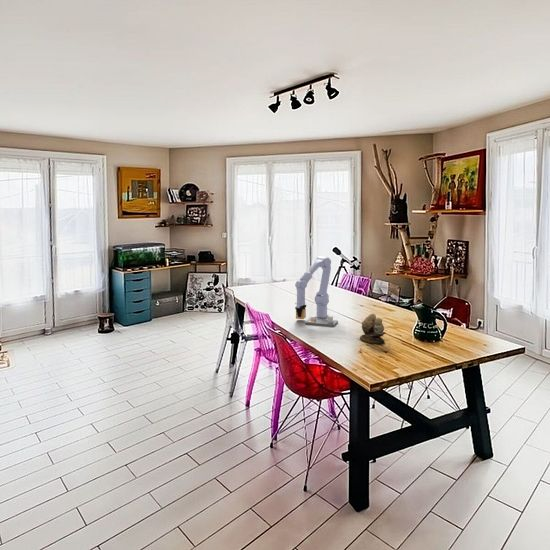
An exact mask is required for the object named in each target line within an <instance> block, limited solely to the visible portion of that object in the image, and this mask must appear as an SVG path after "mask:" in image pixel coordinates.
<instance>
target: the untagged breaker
mask: <svg viewBox="0 0 550 550" xmlns="http://www.w3.org/2000/svg"><path fill="white" fill-rule="evenodd" d="M327 320H328V323H333V320H334V315H328V316H327Z"/></svg>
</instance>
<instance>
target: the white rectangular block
mask: <svg viewBox="0 0 550 550" xmlns="http://www.w3.org/2000/svg"><path fill="white" fill-rule="evenodd" d="M310 318H311V321H316V319H317V317H316V315H311V316H310Z"/></svg>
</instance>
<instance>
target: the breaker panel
mask: <svg viewBox="0 0 550 550" xmlns="http://www.w3.org/2000/svg"><path fill="white" fill-rule="evenodd" d="M338 322H339V320H335V319H333V323H328V319H326V318H316V321H311V317H309V318H308V319H307V320H306V321H305V325H309V326H320V327H331V328H335V327H336V325H338Z"/></svg>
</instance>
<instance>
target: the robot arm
mask: <svg viewBox="0 0 550 550" xmlns="http://www.w3.org/2000/svg"><path fill="white" fill-rule="evenodd" d="M331 266H332V260H331V259H330V257H327V256H326V257H325V256H320V255H319V256H317V257H316V258H315V259H314V263H313V264H312V265H311V267H310V269H309V270H308V271H306V272H304V273H303V275H302V276H301V277H300V279H297V281H296V282H295V287H296V302H295V305H296V306H295V308H294V309H295V312H296V311H297V315H298V317H301V315H302V310H303V309H306V308H307V306H308V305H307V304H306V289H307V286H308V284H309V282H310V281H311V279H312V278H313V274H314V273H315V272H316V271H317V270H318V269H319V268H321V270H322V275H321V279H320V285H319V289H318V290H319V291H317V292H316V295H315V296H314V303H315V304H316V315H315V316H316V318H318V319H326V318H328V316H329V314H328V304H329V302H330V300H329V297H330V295H329V293H328V287H329V281H330V277H331V276H330V275H331V270H332V267H331Z"/></svg>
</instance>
